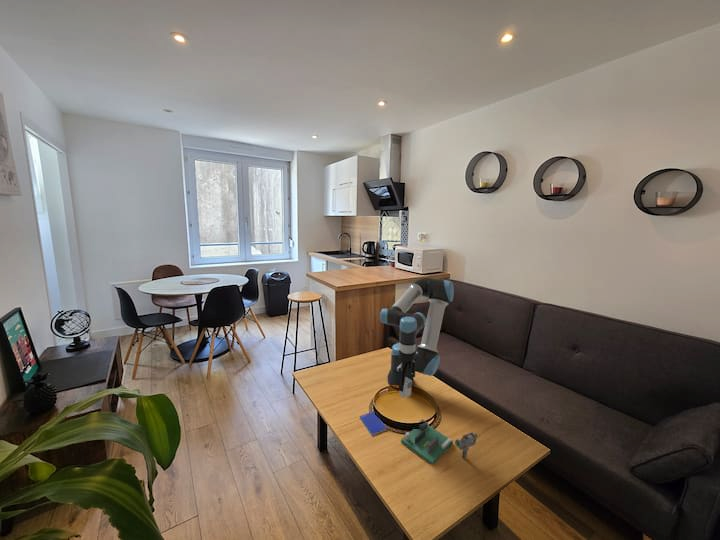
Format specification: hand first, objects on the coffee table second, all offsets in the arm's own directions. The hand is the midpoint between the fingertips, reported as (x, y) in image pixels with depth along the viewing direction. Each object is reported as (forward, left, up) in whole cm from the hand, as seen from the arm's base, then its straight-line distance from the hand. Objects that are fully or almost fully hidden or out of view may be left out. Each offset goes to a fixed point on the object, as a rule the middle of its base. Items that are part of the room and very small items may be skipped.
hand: (405, 393), depth 145 cm
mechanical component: (0, +32, -13) cm, 35 cm away
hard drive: (+15, -7, -14) cm, 21 cm away
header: (+7, +18, -12) cm, 23 cm away
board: (+5, +17, -13) cm, 22 cm away
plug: (0, 0, 0) cm, 0 cm away
